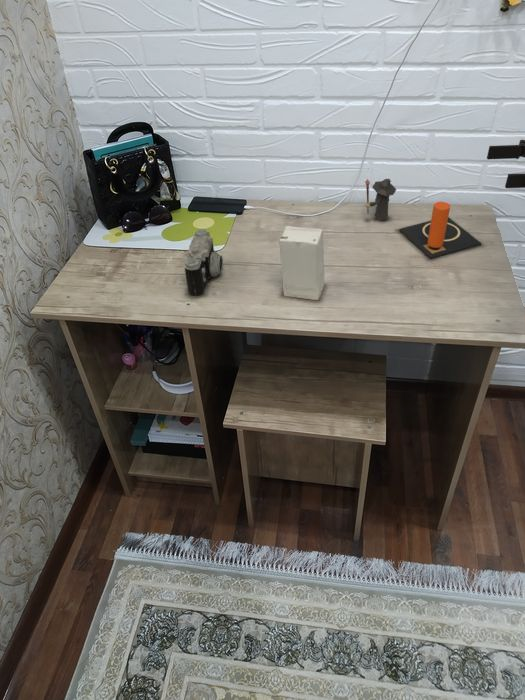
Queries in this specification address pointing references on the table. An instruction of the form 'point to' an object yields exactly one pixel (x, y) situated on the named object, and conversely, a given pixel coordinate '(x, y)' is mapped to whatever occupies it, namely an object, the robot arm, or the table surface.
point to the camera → (201, 263)
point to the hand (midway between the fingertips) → (497, 166)
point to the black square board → (452, 243)
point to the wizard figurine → (380, 197)
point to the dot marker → (438, 225)
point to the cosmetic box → (302, 262)
